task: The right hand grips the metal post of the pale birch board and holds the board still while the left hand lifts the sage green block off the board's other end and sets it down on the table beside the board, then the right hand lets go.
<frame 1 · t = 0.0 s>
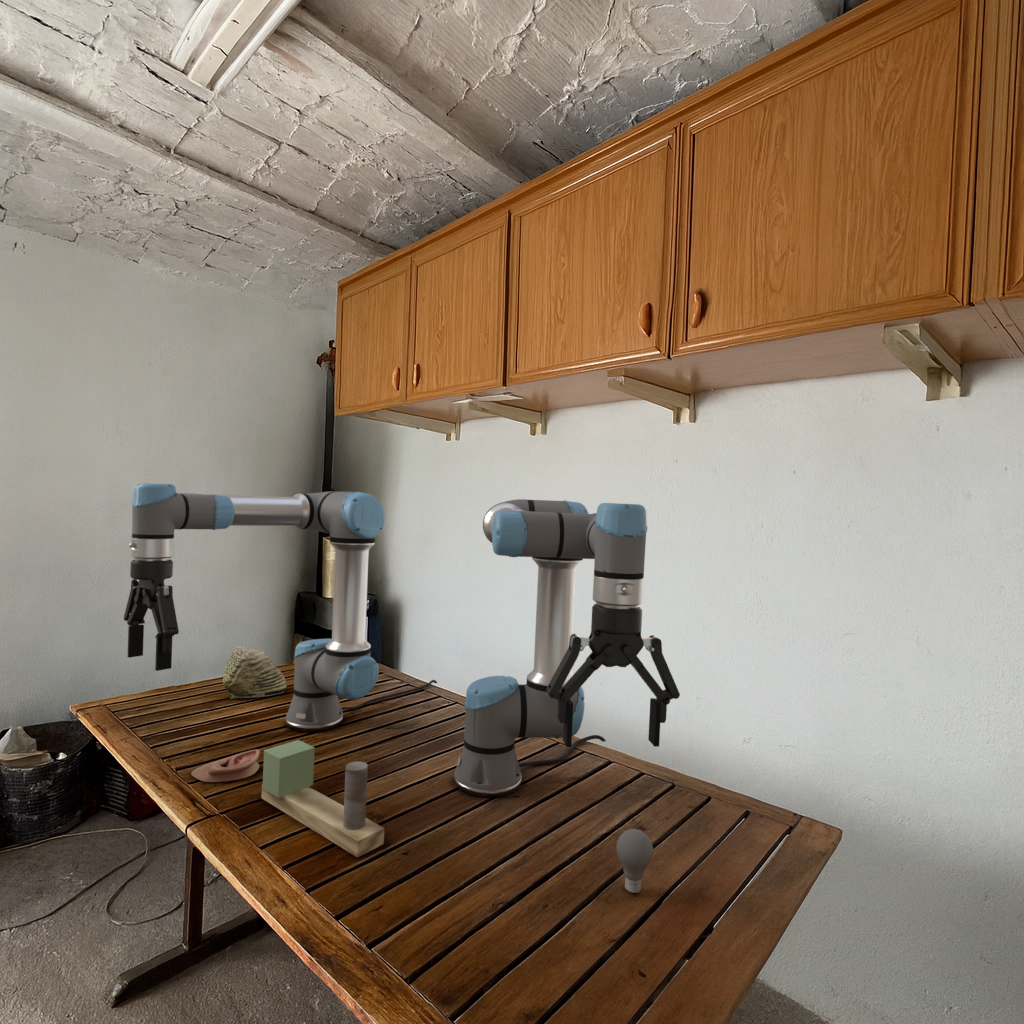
left hand: (148, 662, 129), 28 cm above the table, fingers open, 13 cm apart
right hand: (610, 743, 96), 28 cm above the table, fingers open, 13 cm apart
fossil: (254, 694, 198), on the table
anatomical model: (225, 772, 143), on the table
birch board: (318, 819, 124), on the table, touching green block
light bulb: (632, 891, 106), on the table
green block: (288, 786, 131), point 3 cm above the table, touching birch board
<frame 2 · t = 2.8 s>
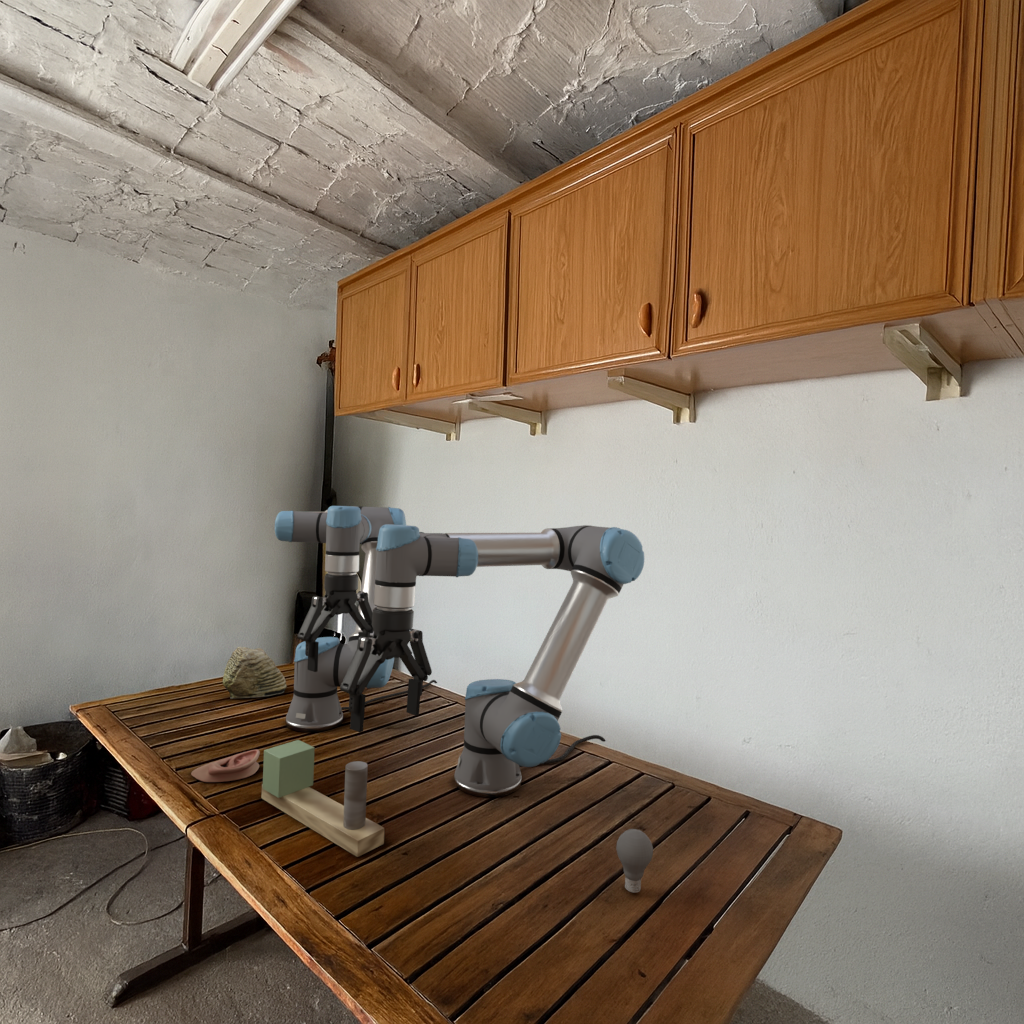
left hand: (338, 665, 146), 25 cm above the table, fingers open, 13 cm apart
right hand: (385, 721, 118), 22 cm above the table, fingers open, 13 cm apart
nothing on the table moved.
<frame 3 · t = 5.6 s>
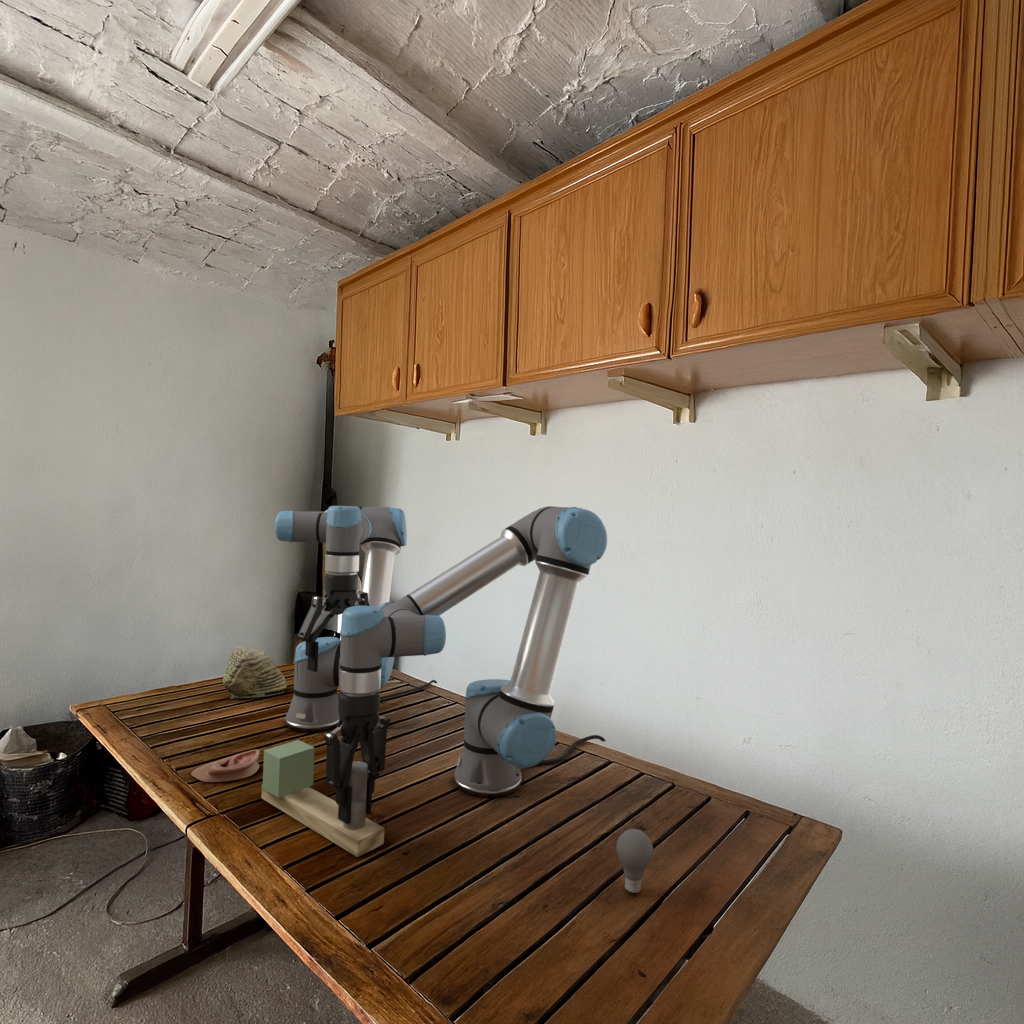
left hand: (338, 665, 146), 25 cm above the table, fingers open, 13 cm apart
right hand: (354, 815, 117), 5 cm above the table, fingers closed on birch board, 4 cm apart
birch board: (318, 819, 124), on the table, touching green block, right hand
everything else where it was.
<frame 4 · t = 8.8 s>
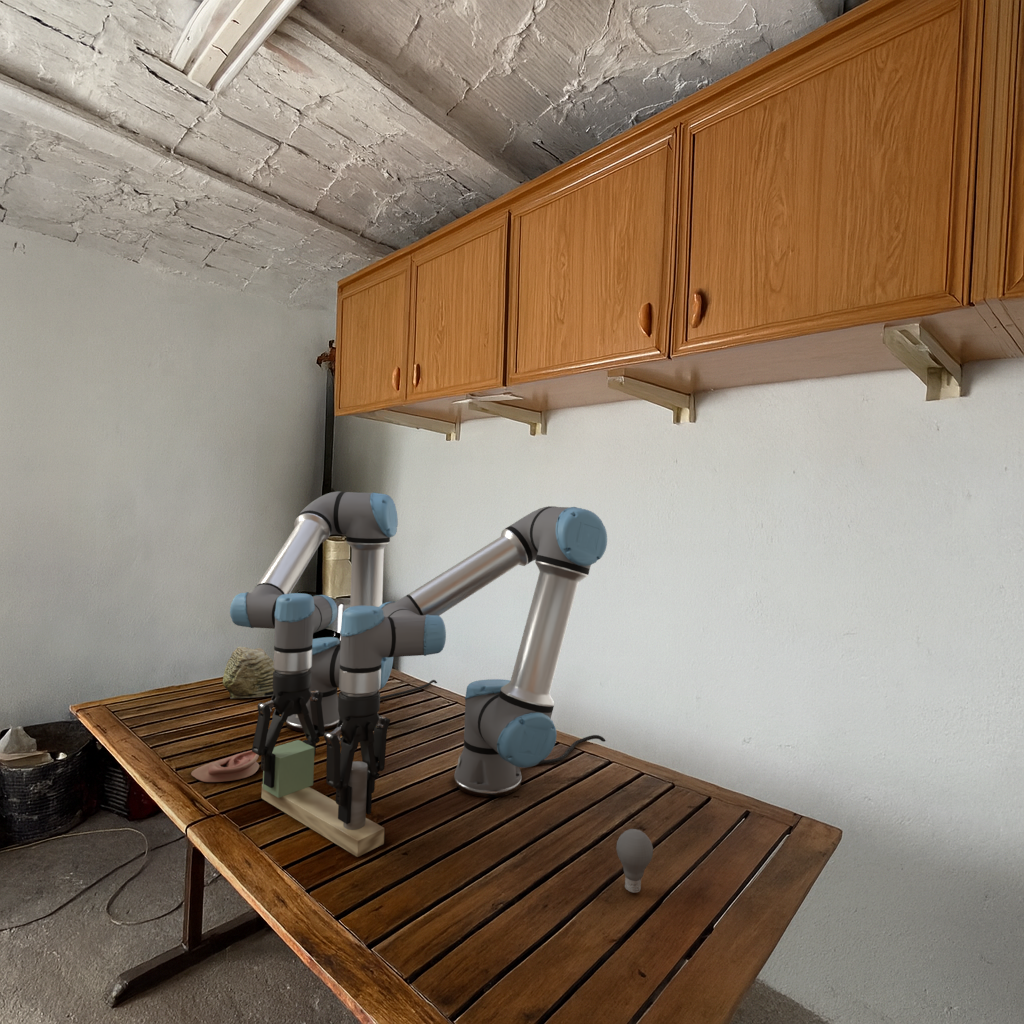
left hand: (288, 778, 131), 5 cm above the table, fingers closed on green block, 8 cm apart
right hand: (354, 815, 117), 5 cm above the table, fingers closed on birch board, 4 cm apart
birch board: (318, 819, 124), on the table, touching green block, right hand
green block: (288, 786, 131), point 3 cm above the table, touching birch board, left hand
everything else where it was.
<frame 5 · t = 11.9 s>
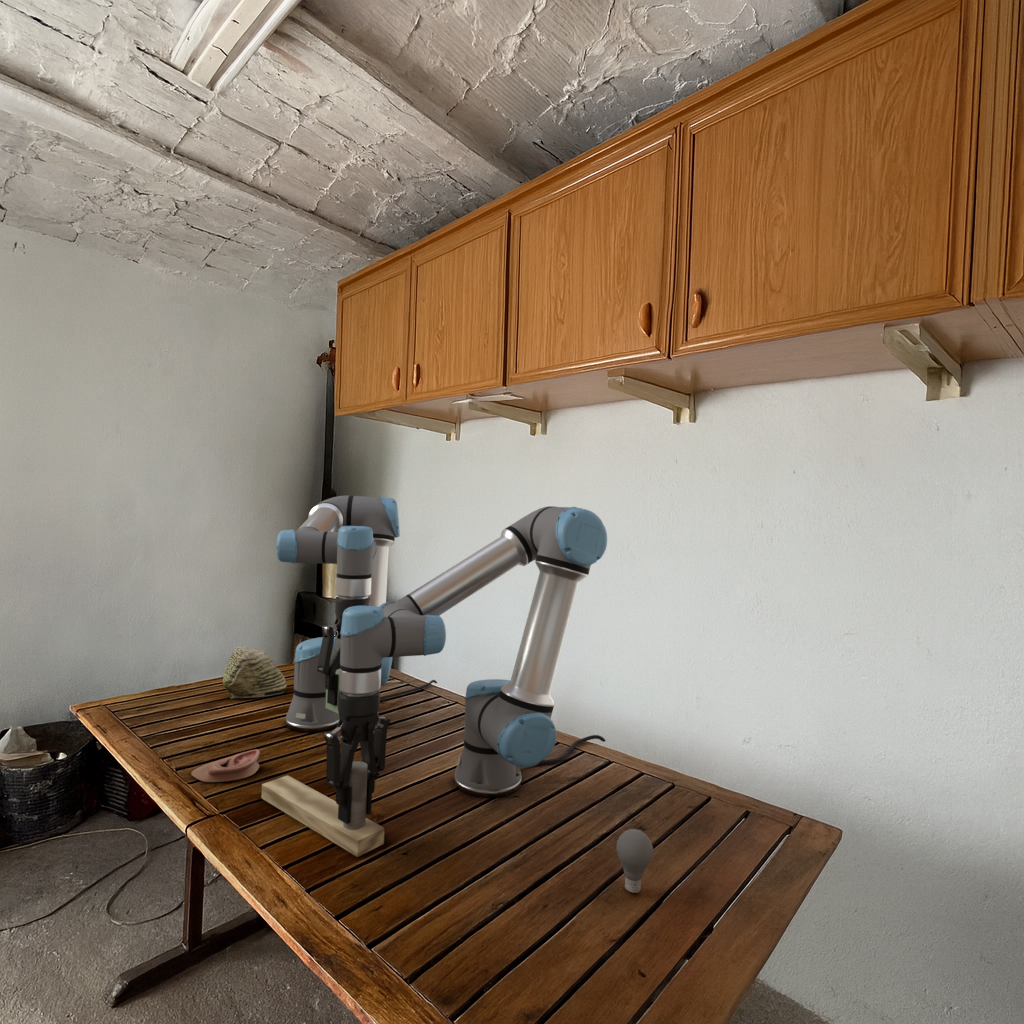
left hand: (349, 699, 139), 19 cm above the table, fingers closed on green block, 8 cm apart
right hand: (354, 815, 117), 5 cm above the table, fingers closed on birch board, 4 cm apart
birch board: (318, 819, 124), on the table, touching right hand
green block: (348, 707, 139), point 17 cm above the table, touching left hand
everything else where it was.
when the left hand's fingers open (4 cm above the table, at t = 15.5 s): green block drops 2 cm, on the table.
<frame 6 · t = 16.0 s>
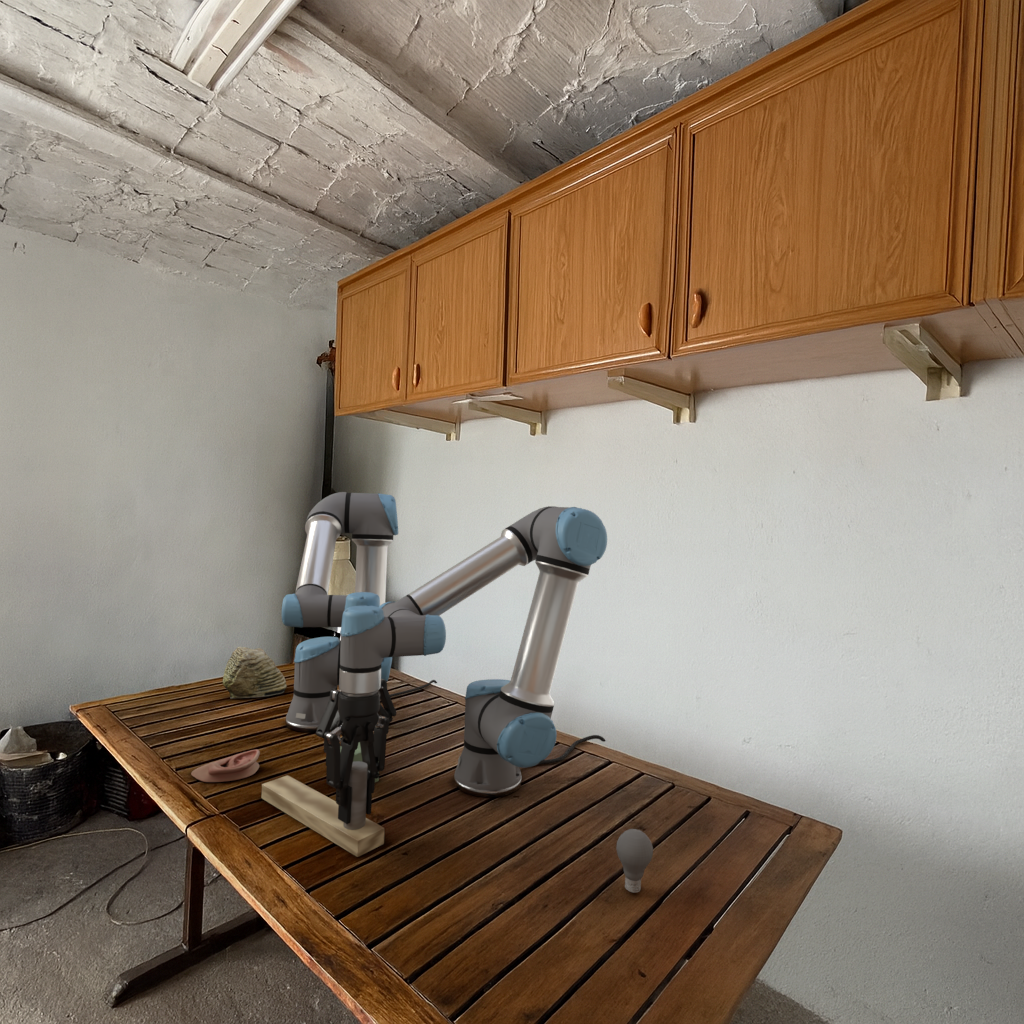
left hand: (356, 757, 141), 6 cm above the table, fingers open, 13 cm apart
right hand: (354, 815, 117), 5 cm above the table, fingers closed on birch board, 4 cm apart
birch board: (318, 819, 124), on the table, touching right hand
green block: (355, 782, 141), on the table
everything else where it was.
when the right hand's fingers open (5 cm above the table, at t = 18.5 s): birch board stays where it is, on the table.
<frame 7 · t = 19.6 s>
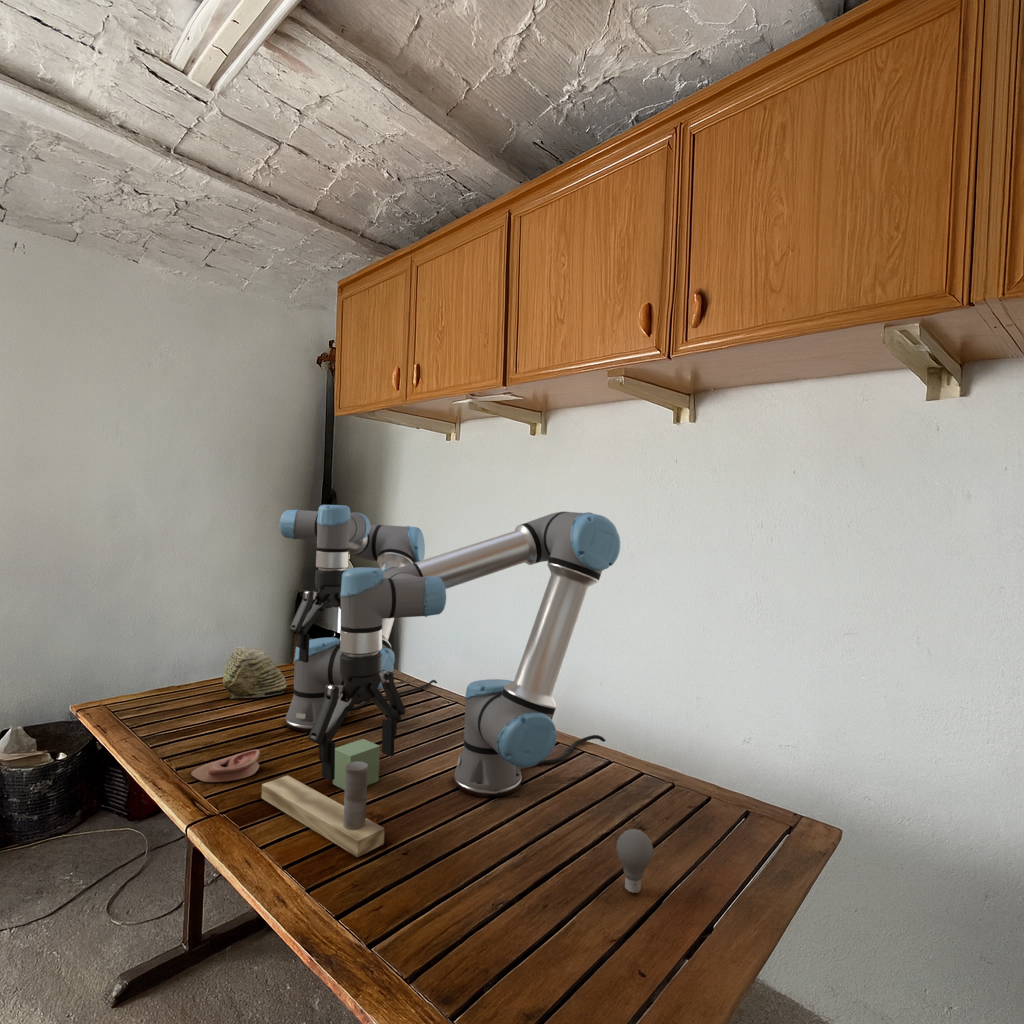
left hand: (328, 656, 153), 25 cm above the table, fingers open, 13 cm apart
right hand: (359, 765, 117), 14 cm above the table, fingers open, 13 cm apart
birch board: (318, 819, 124), on the table
everything else where it was.
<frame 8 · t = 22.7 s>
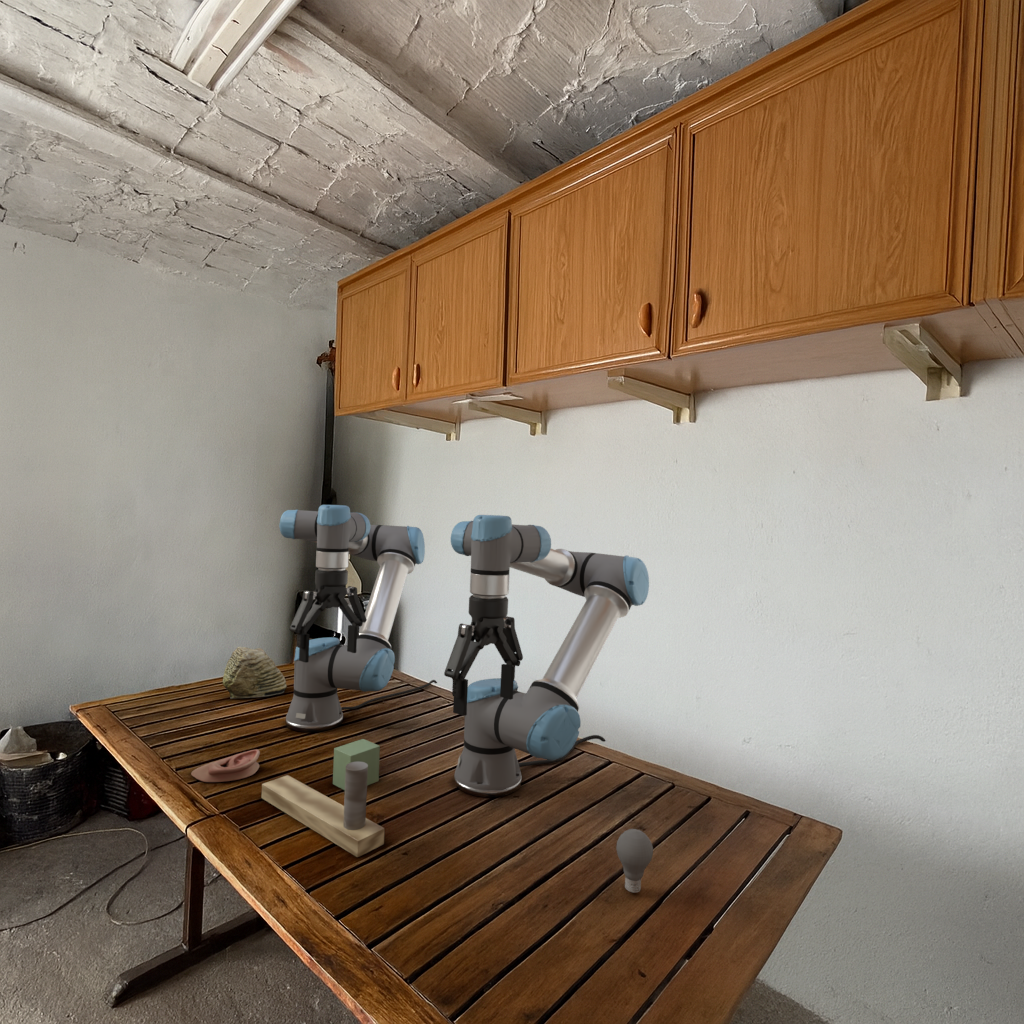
left hand: (328, 656, 153), 25 cm above the table, fingers open, 13 cm apart
right hand: (484, 705, 122), 25 cm above the table, fingers open, 13 cm apart
nothing on the table moved.
at the end: green block inside the target area (0.0 cm from its centre), on the table; birch board moved 0.0 cm from its start; the left hand is holding nothing; the right hand is holding nothing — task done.
